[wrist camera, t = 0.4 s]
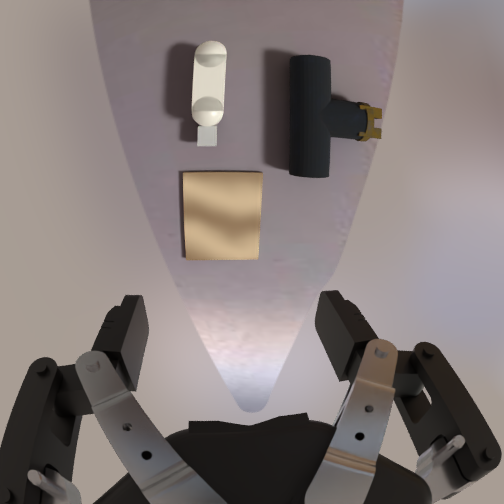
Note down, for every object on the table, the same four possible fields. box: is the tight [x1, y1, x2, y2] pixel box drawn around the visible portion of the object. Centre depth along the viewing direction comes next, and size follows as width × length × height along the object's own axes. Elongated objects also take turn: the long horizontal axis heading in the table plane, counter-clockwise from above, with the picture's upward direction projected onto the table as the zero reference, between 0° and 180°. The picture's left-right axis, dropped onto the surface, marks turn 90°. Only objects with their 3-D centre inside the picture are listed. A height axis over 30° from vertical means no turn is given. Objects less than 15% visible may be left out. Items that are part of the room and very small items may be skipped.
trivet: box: [183, 172, 263, 260], centre depth 36 cm, size 12×10×1 cm
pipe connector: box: [289, 55, 382, 178], centre depth 31 cm, size 12×5×15 cm
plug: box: [192, 41, 226, 146], centre depth 28 cm, size 13×4×4 cm, turn 178°
